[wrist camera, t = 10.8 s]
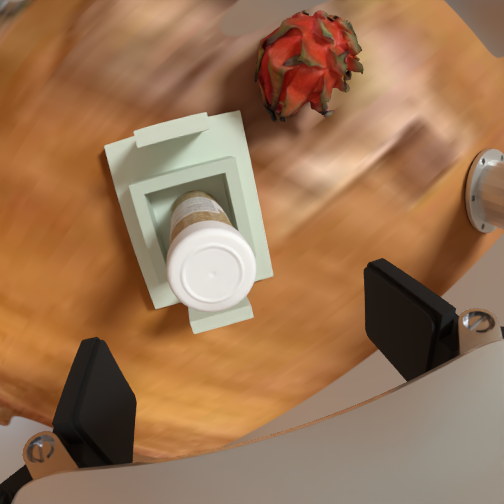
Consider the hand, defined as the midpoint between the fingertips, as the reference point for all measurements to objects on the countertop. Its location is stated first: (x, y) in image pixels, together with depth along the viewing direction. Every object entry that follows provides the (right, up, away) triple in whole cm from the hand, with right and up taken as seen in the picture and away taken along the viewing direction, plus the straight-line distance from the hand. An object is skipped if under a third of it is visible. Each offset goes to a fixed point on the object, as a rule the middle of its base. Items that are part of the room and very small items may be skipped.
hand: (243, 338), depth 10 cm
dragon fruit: (+4, +20, +16) cm, 26 cm away
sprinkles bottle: (-5, +6, +18) cm, 19 cm away
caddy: (-5, +7, +19) cm, 20 cm away
